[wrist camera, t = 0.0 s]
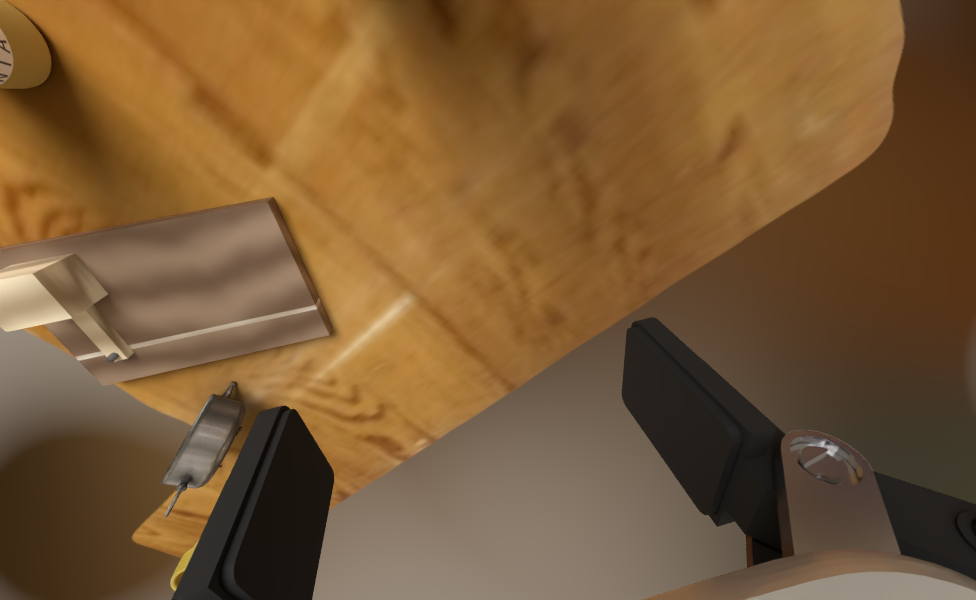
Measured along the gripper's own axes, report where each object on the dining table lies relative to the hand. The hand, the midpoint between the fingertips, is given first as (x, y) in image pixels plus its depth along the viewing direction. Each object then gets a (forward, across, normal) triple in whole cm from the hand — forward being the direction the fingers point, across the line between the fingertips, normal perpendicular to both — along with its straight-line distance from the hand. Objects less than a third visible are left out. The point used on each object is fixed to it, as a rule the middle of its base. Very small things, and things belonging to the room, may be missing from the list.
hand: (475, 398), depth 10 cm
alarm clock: (+37, +35, +27) cm, 58 cm away
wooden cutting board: (+37, +31, +9) cm, 49 cm away
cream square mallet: (+35, +40, +8) cm, 54 cm away
